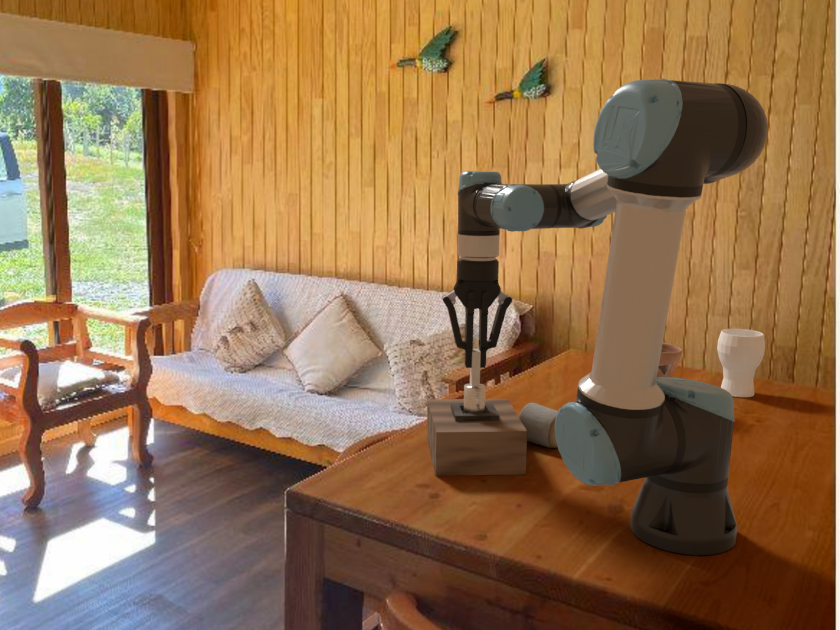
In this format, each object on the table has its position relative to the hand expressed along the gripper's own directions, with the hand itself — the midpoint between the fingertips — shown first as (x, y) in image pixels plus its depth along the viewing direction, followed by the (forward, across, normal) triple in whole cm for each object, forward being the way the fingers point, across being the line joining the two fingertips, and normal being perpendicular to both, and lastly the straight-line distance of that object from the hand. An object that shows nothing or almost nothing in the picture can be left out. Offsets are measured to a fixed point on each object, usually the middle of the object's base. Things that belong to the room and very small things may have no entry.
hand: (474, 384), depth 152 cm
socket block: (+14, 0, 0) cm, 14 cm away
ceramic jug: (+14, -45, -30) cm, 56 cm away
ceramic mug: (+14, -16, -7) cm, 22 cm away
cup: (+14, -70, -40) cm, 81 cm away
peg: (+9, 0, 0) cm, 9 cm away
